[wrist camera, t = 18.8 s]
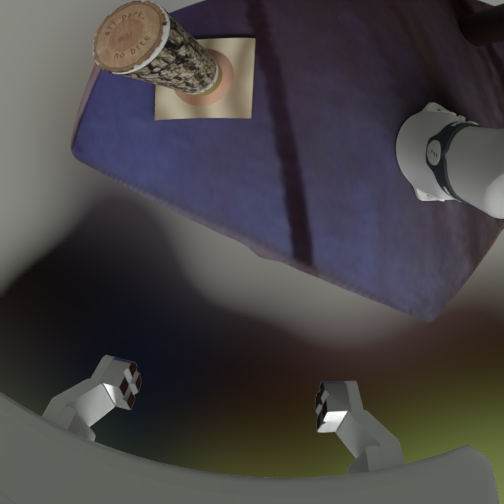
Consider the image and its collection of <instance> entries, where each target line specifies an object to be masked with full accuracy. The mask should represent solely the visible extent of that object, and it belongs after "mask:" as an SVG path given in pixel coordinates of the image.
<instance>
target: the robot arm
mask: <svg viewBox="0 0 504 504" xmlns="http://www.w3.org/2000/svg"><path fill="white" fill-rule="evenodd" d="M437 110H439V111H437ZM396 155H397V161H398V164H399V167H400V169H401V171H402V173H403V174H404V176H405V177H406V178H407V179H408V181H409V182H410V183H411V184H412V186H413V188H414V191H415V194H416V196H417V198H418V199H419V200H422V201H432V200H440V201H444V200H451V199H455V200H457V201H459V202H463V203H465V204H472V205H473V206H475V207H477V208H479V209H480V210H482V211H484V212H485V213H487V214H489V215H490V216H492V217H495V218H504V129H489V128H482V127H480V126H479V125H478V124H476V123H475V122H472V121H468V122H465V117H463V116H461V115H459V116H456V114H455V113H453V112H450V111H448V110H446V109H445V108H443V107H442V106H440V105H438V104H437V103H434V102H429V103H428V104H427V105H426V106H425V107H424V109H423V110H422V111H421V112H419V113H417V114H415V115H413V116H411V117H410V118H408V119H407V120H406V121H405V122H404V124H403V125H402V127H401V129H400V131H399V133H398V137H397V142H396ZM136 369H137V365H136V363H135V362H131V361H127V360H123V359H119V358H116V357H112V356H108V355H105V356H104V357H103V358H102V360H101V362H100V363H99V365H98V367H97V368H96V370H95V372H94V373H93V375H92V377H91V379H86V380H84V381H82V382H81V383H79V384H77V385H75V386H74V387H72V388H70V389H68V390H67V391H65V392H63V393H61V394H59V395H57V396H56V397H54V398H52V400H51V401H50V403H49V405H48V407H47V408H46V410H45V412H44V414H43V416H42V417H41V416H38V415H37V414H35V413H33V412H32V411H30V410H28V409H26V408H25V407H23V406H21V405H20V404H18V403H17V402H15V401H13V400H12V399H10V398H8V397H7V396H6V395H4V394H3V393H1V392H0V504H499V499H498V493H497V487H496V482H495V477H494V473H493V469H492V466H491V463H490V461H489V459H488V458H487V457H486V456H485V455H484V454H482V453H481V452H479V451H478V450H477V449H475V448H473V447H472V446H470V445H465V446H462V447H459V448H456V449H453V450H451V451H448V452H445V453H442V454H439V455H436V456H433V457H429V458H426V459H422V460H419V461H415V462H411V463H408V464H404V459H403V455H402V451H401V446H400V443H399V440H398V439H397V438H396V437H394V435H392V434H391V433H390V432H389V431H388V430H387V429H386V428H385V427H384V426H383V425H382V424H381V423H380V422H378V421H377V420H376V419H375V418H374V417H373V416H372V415H371V414H370V413H369V412H368V411H367V410H363V406H362V402H361V398H360V393H359V389H358V385H357V382H356V381H331V382H322V383H321V384H320V391H319V392H318V393H317V395H316V400H315V412H316V413H317V414H318V417H317V419H316V423H317V432H336V434H337V435H338V436H339V437H340V439H341V440H342V441H343V443H344V444H345V445H346V446H347V448H348V449H349V450H350V452H351V453H352V454H353V455H354V457H355V458H356V460H355V461H354V462H353V463H352V464H351V465H350V466H349V467H348V468H347V473H348V474H346V475H338V476H327V477H326V476H325V477H311V478H310V477H308V478H264V477H247V476H235V475H226V474H218V473H211V472H204V471H198V470H192V469H187V468H181V467H177V466H172V465H167V464H163V463H160V462H155V461H152V460H148V459H144V458H141V457H137V456H134V455H131V454H128V453H124V452H121V451H118V450H115V449H113V448H110V447H107V446H104V445H102V444H99V443H96V442H94V439H95V434H94V433H93V431H92V430H91V429H90V428H89V427H90V426H91V425H92V424H94V423H95V422H96V421H98V420H99V419H100V418H101V417H103V416H104V415H105V414H107V413H108V412H109V411H110V410H111V409H113V408H114V407H115V406H117V407H121V408H124V409H129V410H131V408H132V406H133V403H134V401H135V397H134V394H136V393H137V392H138V391H139V389H140V385H141V376H140V374H139V373H138V372H137V371H136Z"/></svg>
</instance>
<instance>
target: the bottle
mask: <svg viewBox="0 0 504 504" xmlns="http://www.w3.org/2000/svg"><path fill="white" fill-rule="evenodd" d="M460 28H461V31H462V33H463V35H464V36H465V37H466V39H467V40H468V41H469V42H470V43H472V44H473V45H476V46H480V45H485V44H490V43H495V42H500V41H504V4H501V5H498V6H494V7H491V8H488V9H485V10H482V11H479V12H476V13H474V14H471V15H468V16H466V17H463V18H462V19H461V20H460Z"/></svg>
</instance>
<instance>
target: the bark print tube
mask: <svg viewBox="0 0 504 504" xmlns="http://www.w3.org/2000/svg"><path fill="white" fill-rule="evenodd" d="M93 56H94V59H95V61H96V63H97V65H98V66H99V67H100V68H101V69H103V70H105V71H107V72H110V73H113V74H117V75H122V76H126V77H130V78H134V79H138V80H142V81H146V82H149V83H153V84H157V85H160V86H164V87H167V88H170V89H174V90H177V91H180V92H183V93H186V94H190V95H193V96H205V95H208V94H210V93H212V92H214V91H215V90H216V89H217V88H218V87H219V85H220V83H221V81H222V70H221V67H220V65H219V64H218V63H217V62H216V61H215V60H214V58H213V57H212V56H211V55H210V54H209V53H208V52H207V51H206V50H205V49H204V48H203V47H202V46H201V45H200V44H199V43H198V42H197V41H196V39H195V38H194V37H193V36H192V35H191V34H190V33H189V32H188V31H187V30H186V29H185V28H183V27H182V26H181V25H180V24H179V23H178V22H177V21H176V20H175V19H174V18H173V17H172V16H171V15H170V14H169V13H168V12H166V10H164V9H163V8H162V7H161V6H159V5H158V4H156V3H154V2H152V1H147V0H139V1H133V2H130V3H127V4H124V5H122V6H121V7H119V8H117V9H116V10H115V11H113V12H112V13H111V14H110V15H108V16H107V18H106V19H105V20H104V21H103V22H102V24H101V25H100V27H99V28H98V30H97V32H96V35H95V37H94V41H93Z"/></svg>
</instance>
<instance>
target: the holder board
mask: <svg viewBox="0 0 504 504" xmlns="http://www.w3.org/2000/svg"><path fill="white" fill-rule="evenodd" d="M196 41H197V42H198V43H199V44H200V45H201V46H202V47H203V48H204V49H205V50H206V51H207V52H208V53H209V54H210V55H211V56H212V57H213V58H214V60H215V61H216V62H217V63H218V64H219V65H220V67H221V70H222V81H221V83H220V85H219V87H218V88H217V89H216V90H215V91H214V92H212V93H210V94H208V95H205V96H193V95H190V94H186V93H183V92H180V91H177V90H174V89H170V88H167V87H164V86H160V85H157V84H156V92H155V120H167V119H186V118H251V119H252V102H253V82H254V62H255V43H256V40H255V38H218V39H201V40H196Z"/></svg>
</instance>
